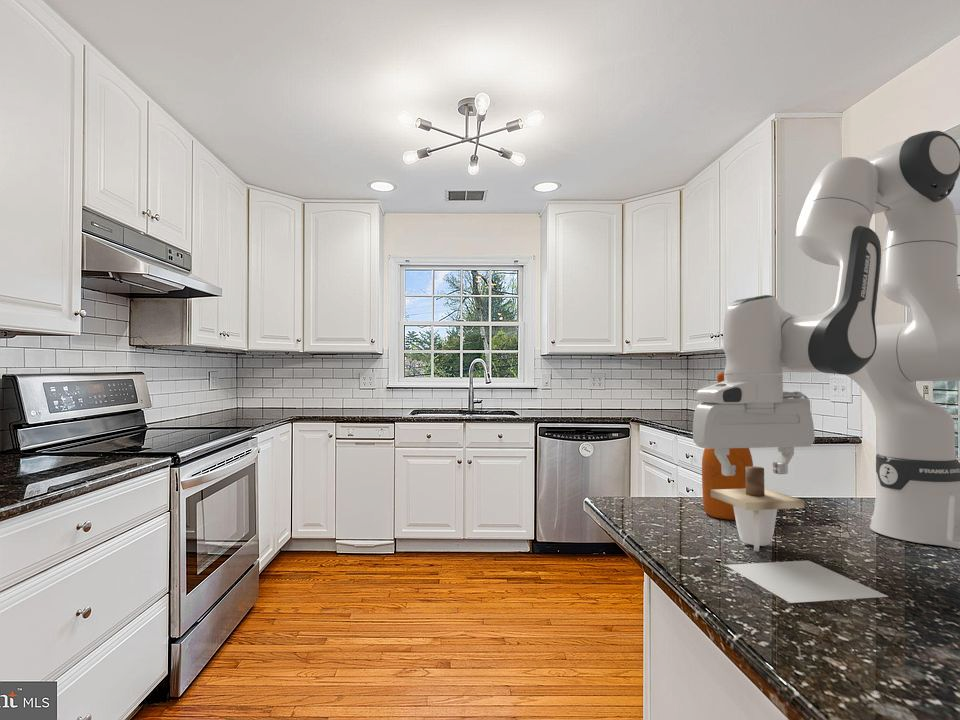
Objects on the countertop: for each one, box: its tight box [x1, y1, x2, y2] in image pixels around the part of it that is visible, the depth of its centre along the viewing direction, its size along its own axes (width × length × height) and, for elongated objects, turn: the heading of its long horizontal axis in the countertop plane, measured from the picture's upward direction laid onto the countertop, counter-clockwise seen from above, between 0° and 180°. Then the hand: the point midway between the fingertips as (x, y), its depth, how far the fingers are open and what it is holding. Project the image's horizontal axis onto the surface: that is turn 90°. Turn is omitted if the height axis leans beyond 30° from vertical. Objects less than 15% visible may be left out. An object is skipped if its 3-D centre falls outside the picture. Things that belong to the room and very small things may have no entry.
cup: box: [733, 505, 778, 553], centre depth 90 cm, size 7×10×8 cm
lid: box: [711, 465, 805, 510], centre depth 91 cm, size 10×10×6 cm
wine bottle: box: [701, 371, 754, 521], centre depth 114 cm, size 10×10×30 cm
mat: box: [724, 559, 889, 604], centre depth 76 cm, size 14×14×1 cm
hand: (754, 474), depth 91 cm, fingers open, 8 cm apart
